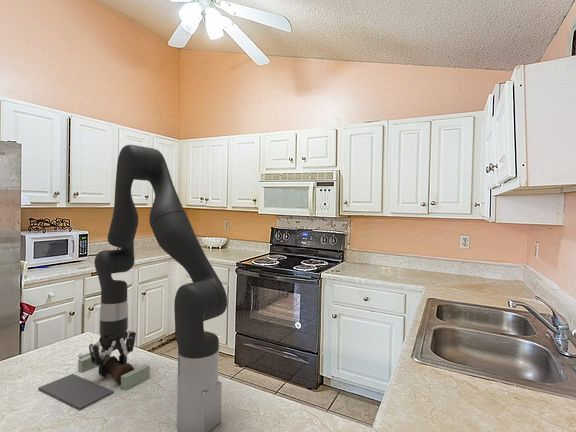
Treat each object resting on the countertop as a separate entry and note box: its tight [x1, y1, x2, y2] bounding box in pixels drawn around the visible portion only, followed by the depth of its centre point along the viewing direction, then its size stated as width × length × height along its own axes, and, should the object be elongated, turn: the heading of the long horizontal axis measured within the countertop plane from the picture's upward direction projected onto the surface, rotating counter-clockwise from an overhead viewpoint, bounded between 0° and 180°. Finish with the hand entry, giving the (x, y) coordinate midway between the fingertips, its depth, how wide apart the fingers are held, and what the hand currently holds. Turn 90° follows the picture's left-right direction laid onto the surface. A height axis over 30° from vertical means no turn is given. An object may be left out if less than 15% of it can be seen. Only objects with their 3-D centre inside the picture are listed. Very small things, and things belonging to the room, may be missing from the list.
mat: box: [37, 373, 115, 411], centre depth 90 cm, size 19×9×1 cm, turn 62°
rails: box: [77, 351, 151, 391], centre depth 101 cm, size 28×8×4 cm, turn 62°
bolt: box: [106, 355, 135, 386], centre depth 100 cm, size 6×5×15 cm
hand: (113, 371), depth 100 cm, fingers closed on bolt, 5 cm apart
